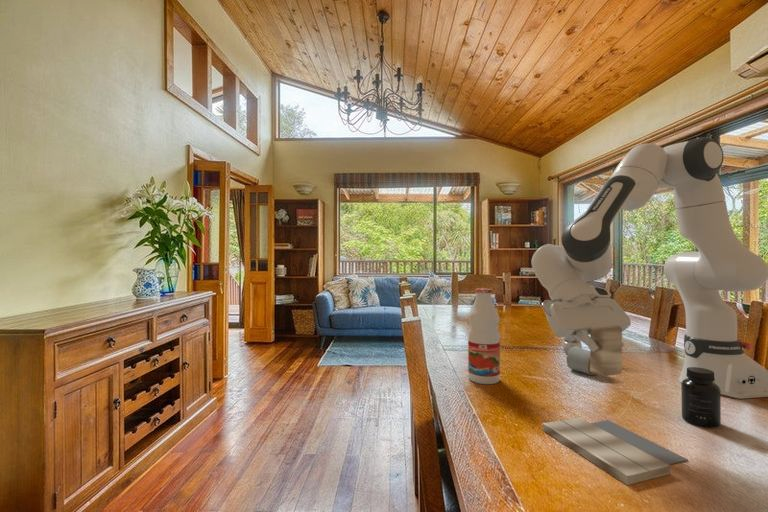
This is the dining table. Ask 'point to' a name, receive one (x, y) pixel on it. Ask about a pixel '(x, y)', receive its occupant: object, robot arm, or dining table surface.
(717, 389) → the supplement bottle
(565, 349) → the plastic bottle
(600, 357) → the gray rectangular block
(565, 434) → the floor panel
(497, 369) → the fruit juice
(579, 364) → the grey cylinder
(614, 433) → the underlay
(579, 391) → the dining table surface
